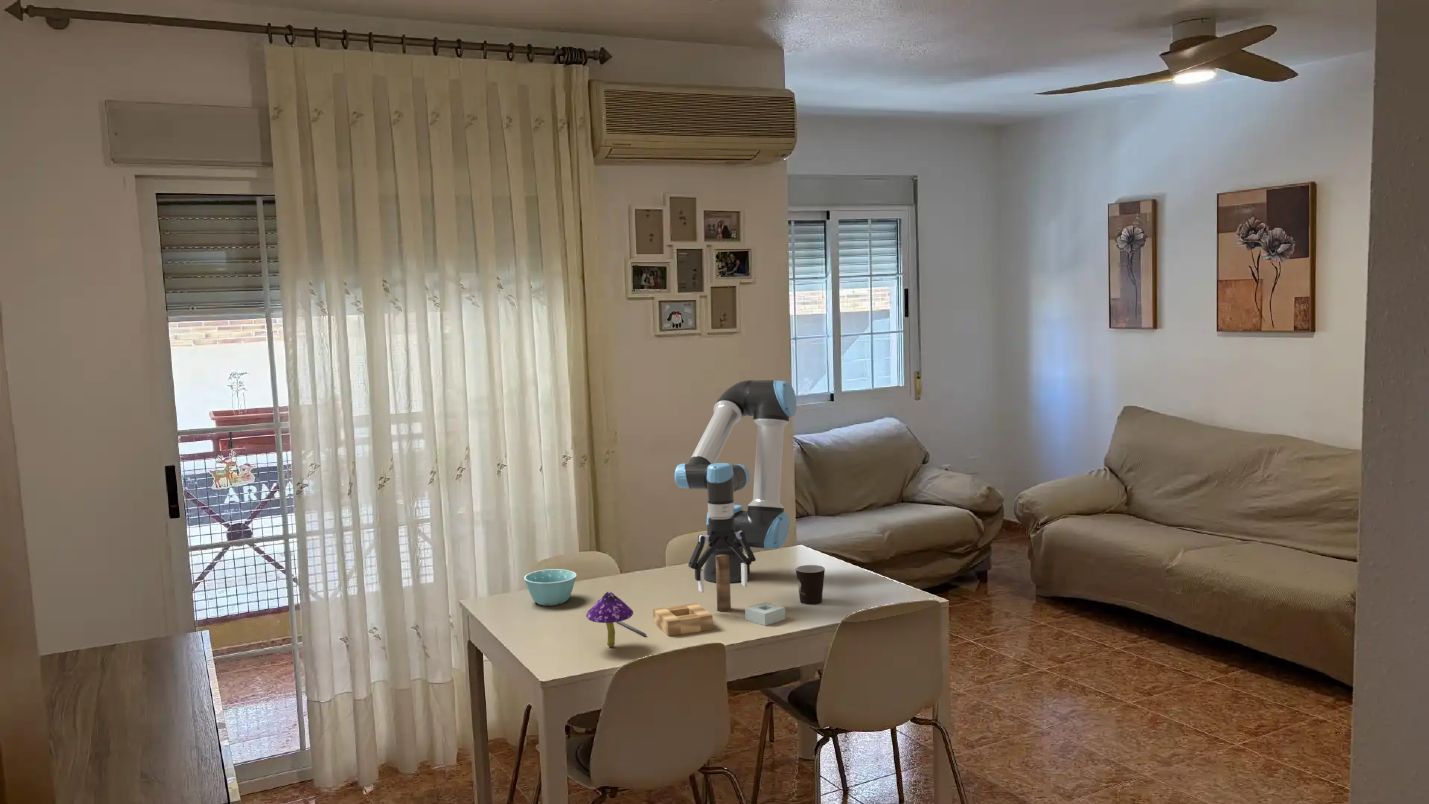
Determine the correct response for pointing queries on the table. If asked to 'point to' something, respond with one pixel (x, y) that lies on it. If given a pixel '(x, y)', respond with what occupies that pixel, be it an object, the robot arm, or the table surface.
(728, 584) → the brown wooden bar
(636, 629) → the dark grey rod
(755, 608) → the grey square socket block
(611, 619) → the decorative mushroom
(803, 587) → the coffee mug
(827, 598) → the table surface
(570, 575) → the bowl
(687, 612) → the wooden square socket block
